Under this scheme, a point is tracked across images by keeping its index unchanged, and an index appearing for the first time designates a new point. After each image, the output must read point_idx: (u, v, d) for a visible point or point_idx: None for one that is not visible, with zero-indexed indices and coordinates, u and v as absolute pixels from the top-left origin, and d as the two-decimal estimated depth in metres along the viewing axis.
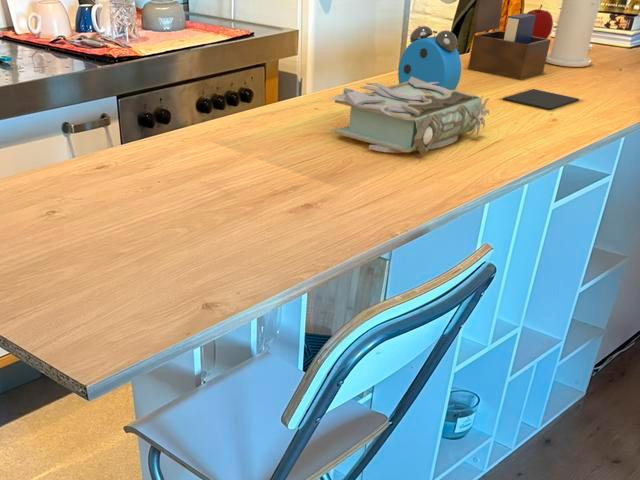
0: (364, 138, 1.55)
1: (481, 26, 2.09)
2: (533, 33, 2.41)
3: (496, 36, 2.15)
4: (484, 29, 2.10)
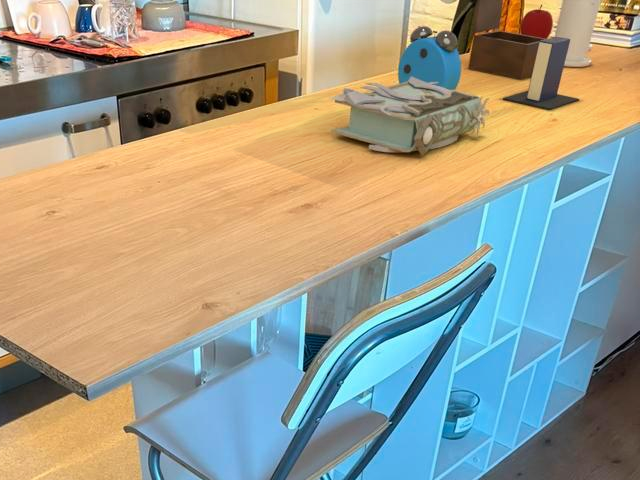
0: (364, 138, 1.55)
1: (481, 26, 2.09)
2: (533, 33, 2.41)
3: (496, 36, 2.15)
4: (484, 29, 2.10)
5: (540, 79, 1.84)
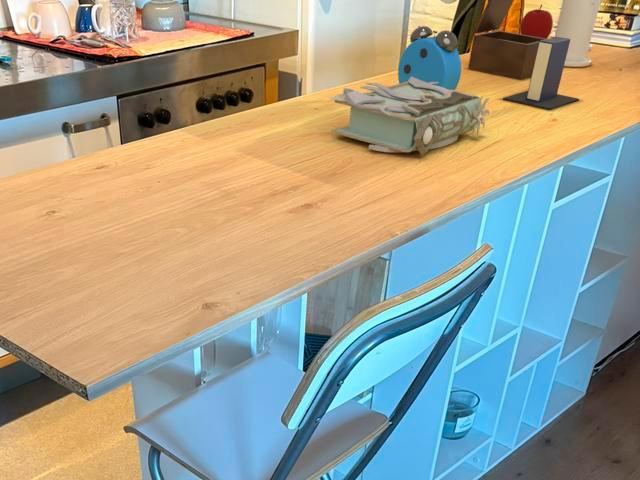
0: (364, 138, 1.55)
1: (483, 27, 2.09)
2: (533, 33, 2.41)
3: (496, 36, 2.15)
4: (484, 30, 2.10)
5: (540, 79, 1.84)
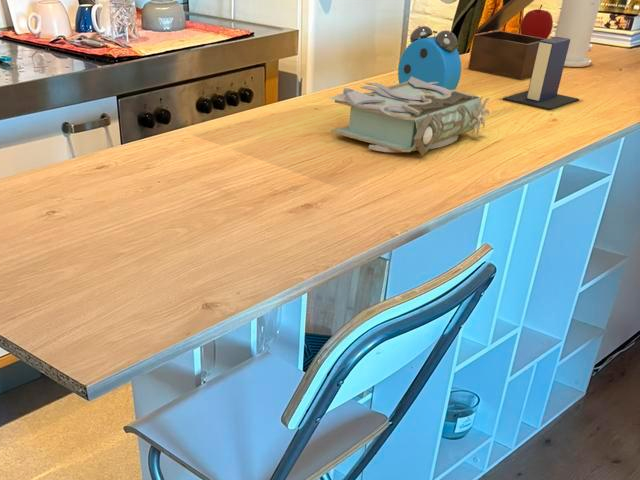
0: (364, 138, 1.55)
1: (483, 30, 2.09)
2: (533, 33, 2.41)
3: (496, 36, 2.15)
4: (484, 31, 2.11)
5: (540, 79, 1.84)
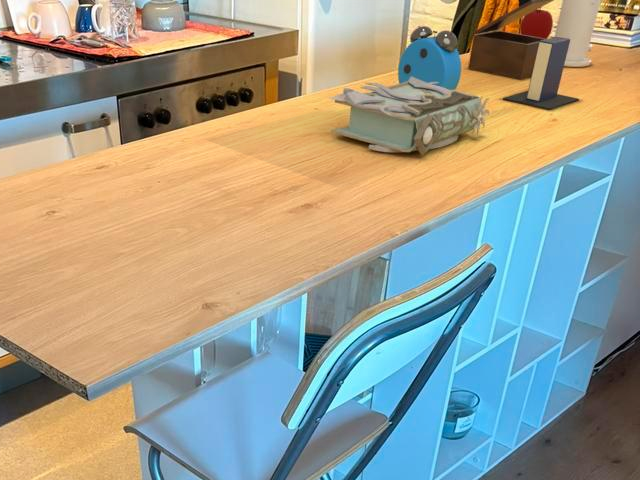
0: (364, 138, 1.55)
1: (483, 31, 2.09)
2: (533, 33, 2.41)
3: (496, 36, 2.15)
4: (484, 32, 2.11)
5: (540, 79, 1.84)
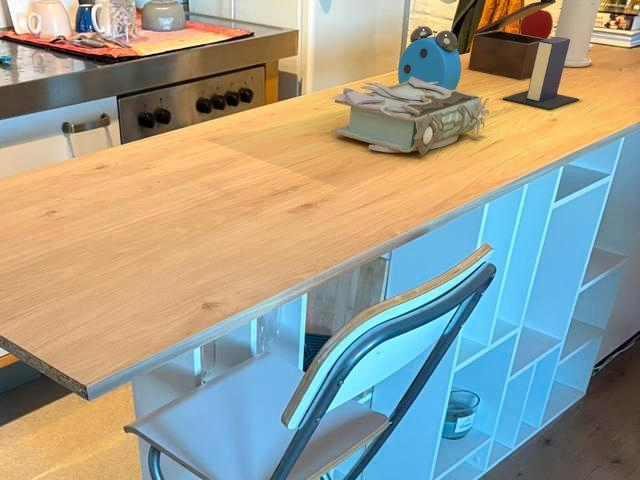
0: (364, 138, 1.55)
1: (483, 31, 2.09)
2: (533, 33, 2.41)
3: (496, 36, 2.15)
4: (484, 32, 2.11)
5: (540, 79, 1.84)
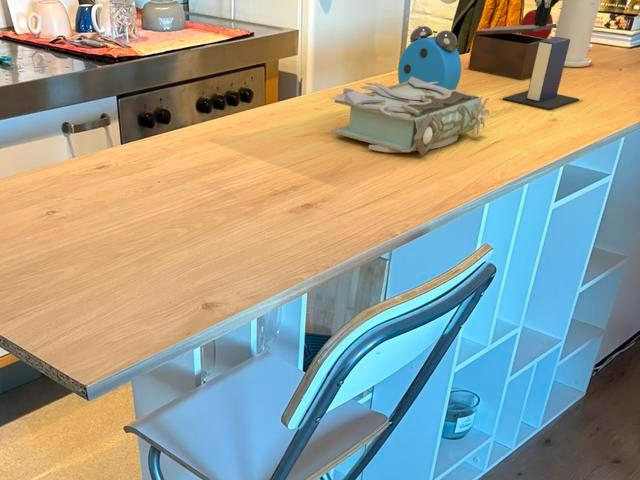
0: (364, 138, 1.55)
1: None
2: (533, 33, 2.41)
3: (496, 36, 2.15)
4: None
5: (540, 79, 1.84)
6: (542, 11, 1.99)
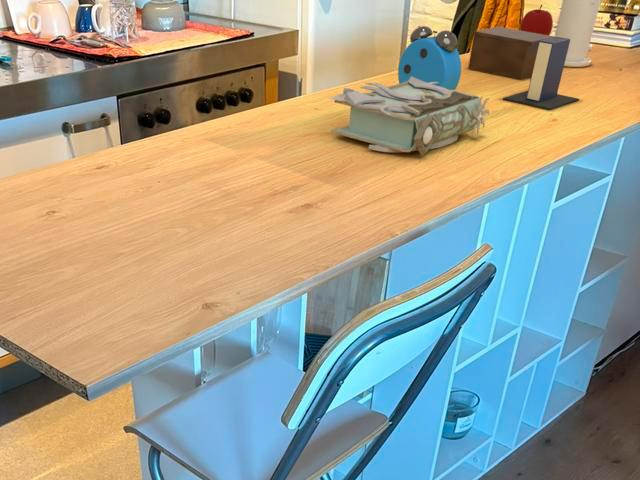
0: (364, 138, 1.55)
1: None
2: None
3: None
4: None
5: (540, 79, 1.84)
6: None
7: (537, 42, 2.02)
